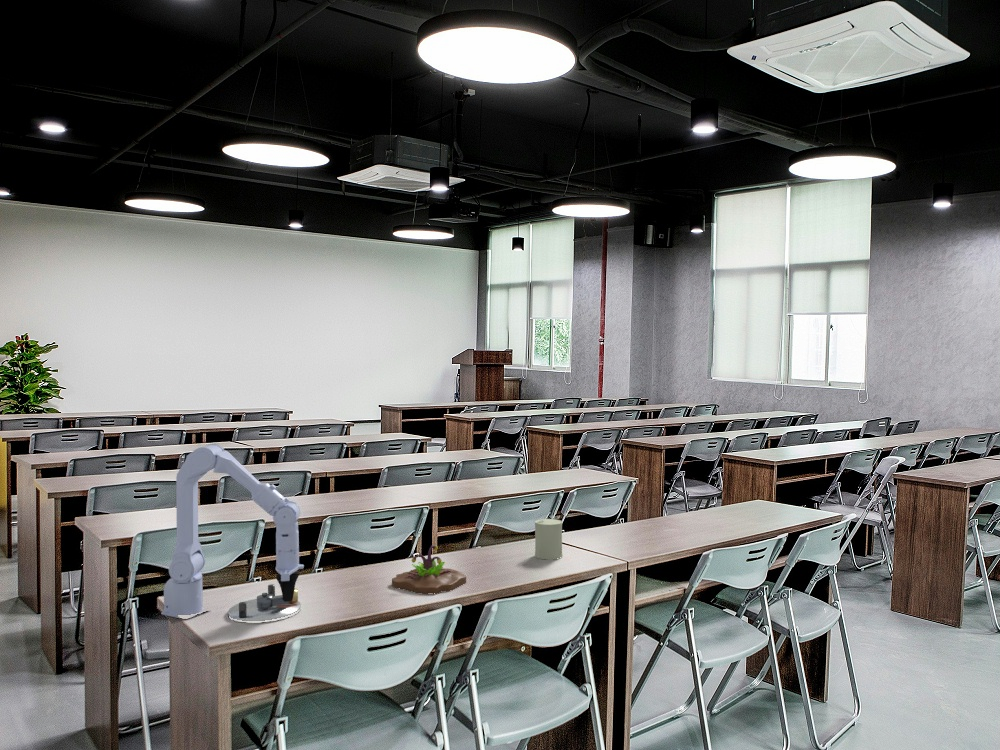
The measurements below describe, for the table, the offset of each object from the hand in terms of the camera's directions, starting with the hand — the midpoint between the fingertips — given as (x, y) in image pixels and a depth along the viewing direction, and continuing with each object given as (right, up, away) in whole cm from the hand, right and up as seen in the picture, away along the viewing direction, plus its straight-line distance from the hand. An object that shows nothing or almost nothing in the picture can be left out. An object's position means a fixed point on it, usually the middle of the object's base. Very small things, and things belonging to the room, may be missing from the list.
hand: (288, 601), depth 198 cm
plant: (+35, -2, +24) cm, 42 cm away
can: (+72, -1, +53) cm, 89 cm away
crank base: (-6, -3, -1) cm, 6 cm away
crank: (-3, -1, +1) cm, 3 cm away
